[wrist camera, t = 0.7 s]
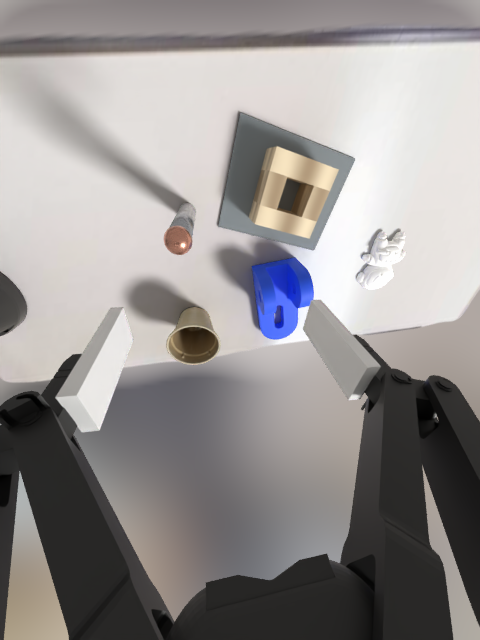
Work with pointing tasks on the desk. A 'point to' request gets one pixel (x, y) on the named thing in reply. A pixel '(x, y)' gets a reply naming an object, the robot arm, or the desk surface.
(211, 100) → the desk surface
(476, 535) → the robot arm
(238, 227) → the mat
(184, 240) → the copper-tipped rod
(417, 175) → the desk surface
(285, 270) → the bracket
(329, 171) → the block with square hole
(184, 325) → the flower pot
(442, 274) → the desk surface
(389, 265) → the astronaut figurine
